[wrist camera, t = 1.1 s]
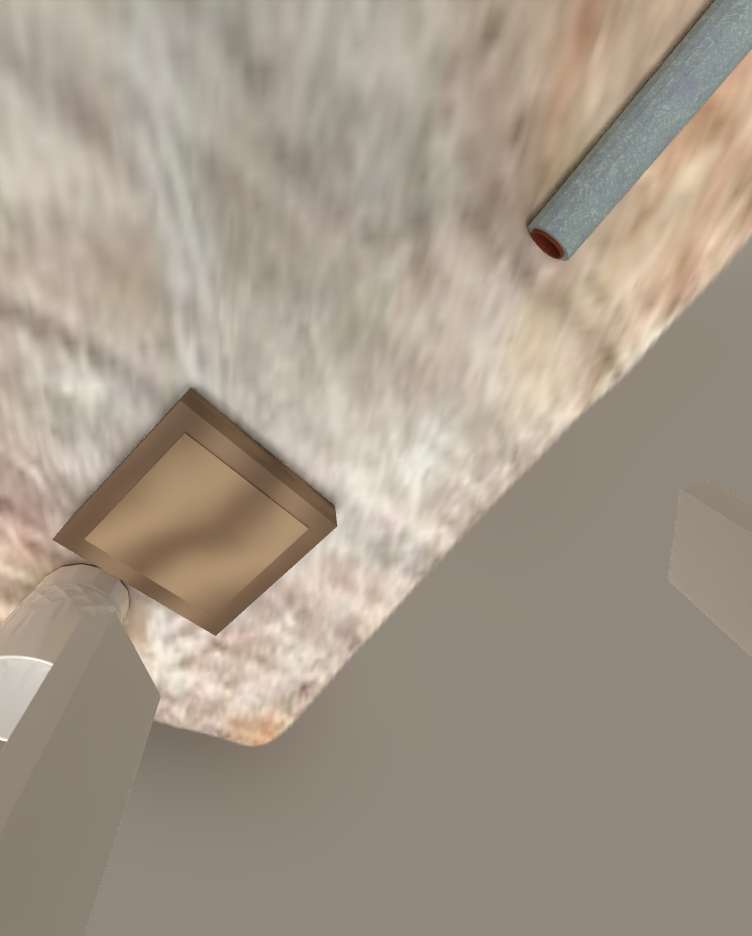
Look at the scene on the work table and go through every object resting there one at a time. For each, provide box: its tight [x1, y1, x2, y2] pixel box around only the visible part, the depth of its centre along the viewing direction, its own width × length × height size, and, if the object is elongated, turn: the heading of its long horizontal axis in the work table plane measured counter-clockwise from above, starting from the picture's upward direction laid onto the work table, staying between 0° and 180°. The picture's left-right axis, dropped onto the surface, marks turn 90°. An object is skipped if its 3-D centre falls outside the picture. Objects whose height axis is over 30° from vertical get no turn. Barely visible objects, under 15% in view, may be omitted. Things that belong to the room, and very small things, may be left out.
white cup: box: [0, 564, 129, 742], centre depth 34 cm, size 8×8×10 cm
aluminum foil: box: [529, 0, 752, 261], centre depth 29 cm, size 23×7×3 cm, turn 140°
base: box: [52, 388, 337, 636], centre depth 36 cm, size 14×14×3 cm
